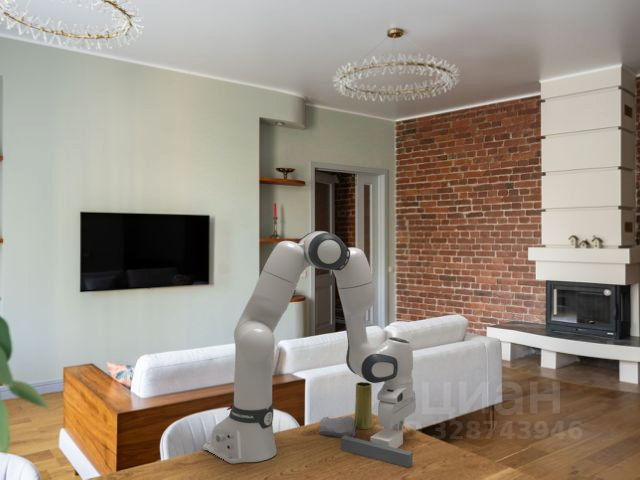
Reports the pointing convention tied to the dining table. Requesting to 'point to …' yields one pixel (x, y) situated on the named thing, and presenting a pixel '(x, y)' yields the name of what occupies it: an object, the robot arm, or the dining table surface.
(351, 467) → the dining table surface
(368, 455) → the charcoal board
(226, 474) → the dining table surface
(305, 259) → the robot arm
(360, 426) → the vase
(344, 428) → the stone block
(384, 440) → the offwhite block
